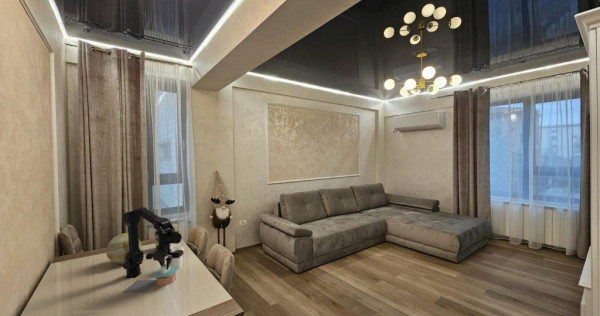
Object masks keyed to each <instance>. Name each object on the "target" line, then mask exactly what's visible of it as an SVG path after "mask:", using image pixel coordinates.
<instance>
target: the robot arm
mask: <svg viewBox="0 0 600 316" xmlns="http://www.w3.org/2000/svg"><path fill="white" fill-rule="evenodd" d="M141 218H142V219H144V220H146V221H147V222H149V223H150V224H152V226H153V229H154V230H155V231H157V232H156V233H155V232H154V235H155V234H157V235H158V243H159V245H158V246H157V250H156V249H155V250H150V251H149V252H148V253H146V254H145V255H144V251H143V250H140V249H139V239H140V238H139V228H138V227H139V223H140V221H141ZM122 220H123V223H124V224H125V225H126V226H127V233H128V239H129V252H128V254H127V256H126V261H125V263H123V264H122V267H123V268H122V269H123V270H126V276H125V277H124V279H135V278H138V277H139V276H140V275H141V274H142V272H141V266H140V265H142V264H143V261H144V258H145V260H153V261H157V262H158V264H160V265H159V266H160V268H161V267H162V266H163V265H164V264H165V263H166V265H167V270H168V269H169V266H170V263H171V261H172V259H173V258H179V257H181V256H182V255H183V256H184V251H183V250H175V251H174V252H170V251H172V249H170V247H171V245H172V244H175V245H177V244H180V243H181V241H182V239H183V237H182V234H181V233H180V232H179V230H176V228H175V226H174V225H173V223H172V221H171V220H170V219H169V218H166V217H162V216H159V215H157V214H155V213H154V212H152V211H151V210H149V209H148V208H147V207H145V206H143V207H138V208H136V209H134V210H131V211H126V212H125V213H124V214H123V216H122ZM166 229H168V230H166ZM163 230H165V231H163ZM138 238H139V239H138Z"/></svg>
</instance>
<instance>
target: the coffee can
mask: <svg viewBox="0 0 600 316" xmlns="http://www.w3.org/2000/svg"><path fill="white" fill-rule="evenodd" d="M166 230H168V229H166ZM163 231H165V230H163ZM156 232H157V230H155V231H154V239H155V251H156V250H157V246H158V245H159V243H158V235H157V234H155V233H156Z"/></svg>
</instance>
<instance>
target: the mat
mask: <svg viewBox="0 0 600 316" xmlns="http://www.w3.org/2000/svg"><path fill="white" fill-rule="evenodd" d="M155 284H157V281H156V279H143V280H136V281H134V282H133V283H132V284H130V285H129V286H128V287H127V288H126V289H124V290H123V291H122V292H121V294H135V293H136V294H137V293H138V294H139V293H146V292H147V291H149V289H151V288H152V287H153V286H155Z"/></svg>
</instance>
